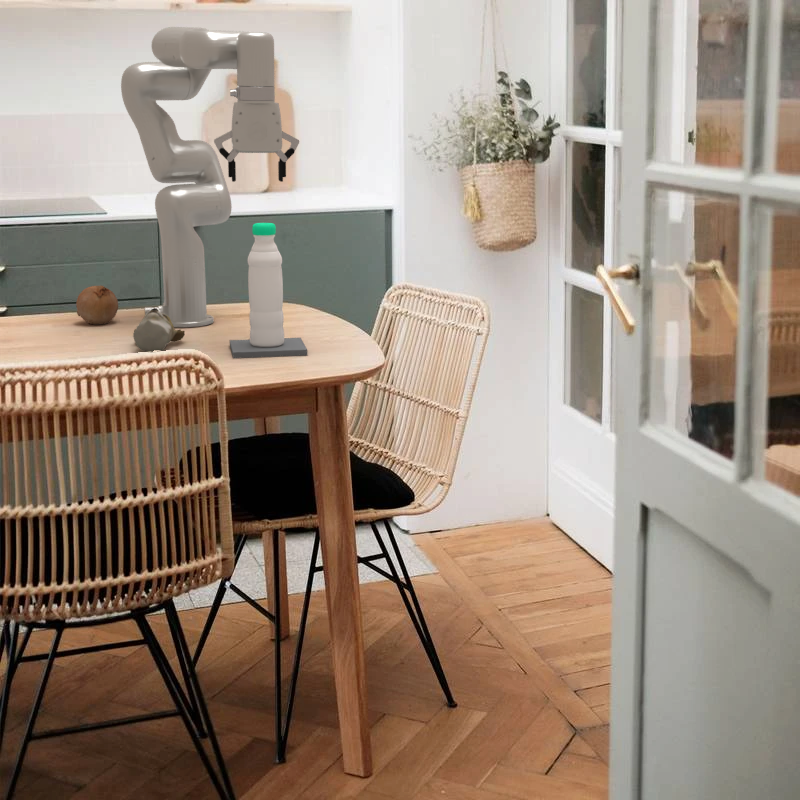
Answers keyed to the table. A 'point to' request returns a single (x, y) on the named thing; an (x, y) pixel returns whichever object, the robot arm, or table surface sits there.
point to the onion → (97, 305)
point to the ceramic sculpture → (156, 332)
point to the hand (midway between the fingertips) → (257, 180)
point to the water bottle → (265, 288)
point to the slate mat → (268, 349)
